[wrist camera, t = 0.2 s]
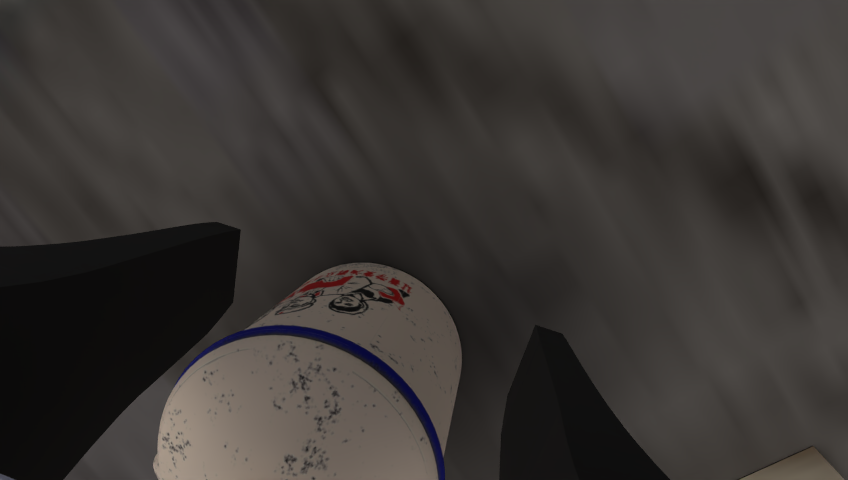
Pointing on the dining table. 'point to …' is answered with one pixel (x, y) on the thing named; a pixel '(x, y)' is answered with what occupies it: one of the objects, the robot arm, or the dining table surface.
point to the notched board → (798, 468)
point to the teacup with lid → (321, 387)
